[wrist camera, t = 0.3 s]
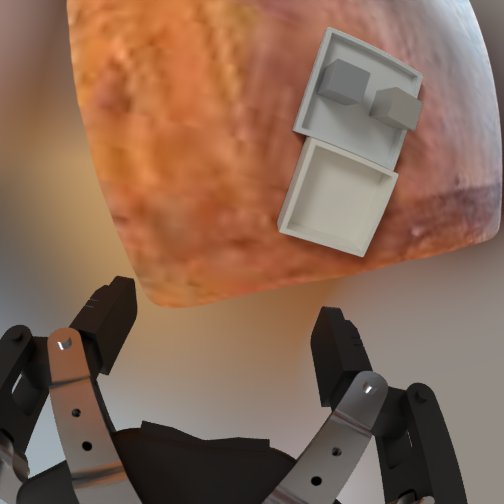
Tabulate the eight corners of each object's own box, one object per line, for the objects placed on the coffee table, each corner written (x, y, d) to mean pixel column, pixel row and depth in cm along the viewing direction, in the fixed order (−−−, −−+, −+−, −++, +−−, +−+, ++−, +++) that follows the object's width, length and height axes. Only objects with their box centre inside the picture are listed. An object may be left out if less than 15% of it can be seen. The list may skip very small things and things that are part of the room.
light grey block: (376, 90, 29) (396, 86, 24) (400, 103, 30) (423, 102, 24) (368, 116, 31) (387, 116, 26) (393, 128, 31) (414, 131, 26)
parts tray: (324, 30, 26) (328, 26, 25) (416, 76, 28) (423, 74, 26) (292, 130, 33) (293, 130, 31) (387, 168, 34) (393, 171, 33)
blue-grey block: (325, 67, 28) (337, 58, 23) (353, 79, 29) (370, 73, 24) (316, 94, 30) (328, 88, 25) (345, 105, 31) (361, 103, 25)
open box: (306, 136, 33) (312, 137, 30) (386, 169, 35) (398, 174, 31) (277, 221, 38) (279, 232, 35) (354, 245, 40) (363, 257, 36)
